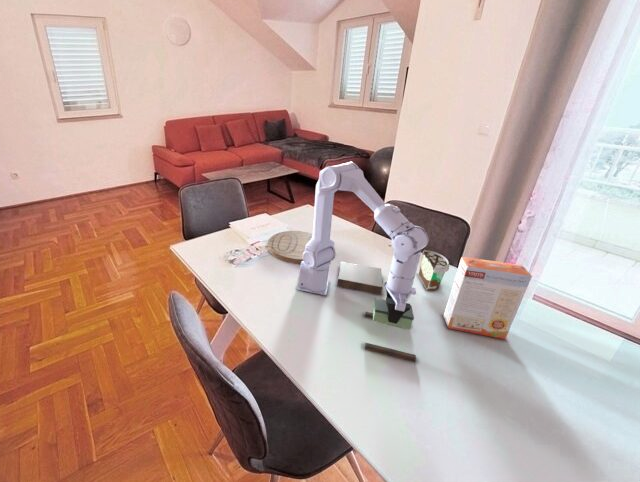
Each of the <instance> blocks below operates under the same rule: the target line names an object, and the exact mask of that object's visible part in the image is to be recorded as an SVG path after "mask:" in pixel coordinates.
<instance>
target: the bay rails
mask: <svg viewBox="0 0 640 482" xmlns="http://www.w3.org/2000/svg"><path fill="white" fill-rule="evenodd" d="M364 317H365V318H368V319H372V320H373V312H372V311H371V312H370V311H364ZM364 349H365V350H368V351H372V352H374V353H379V354H383V355H388V356H391V357H394V358H399V359H403V360H407V361H411V362H416V360H417V356H416V354H414V353H409V352H405V351H402V350H398V349H397V350H396V349H395V348H394V349H393V348H390V347H385V346H381V345H377V344H373V343H370V342H365V343H364Z"/></svg>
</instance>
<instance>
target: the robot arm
mask: <svg viewBox="0 0 640 482" xmlns="http://www.w3.org/2000/svg"><path fill="white" fill-rule="evenodd" d="M337 191H344V192H352V193H353V194H355V195H356V196H357V197H358V198H359V199H360V200H361V201H362V202H363V203H364V204H365V205H366V206H367V207H369V209H370V210H371V211H372V212H373V213H374V214H373V220H374V221H375V222H376V223H377V224H378V225H379V227H381V229H382V230H383V231H384V232H385V233H386V235H388V236H389V238H390V239H391V247H392V249H393V256H392V258H391V264H390V267H389V268H390V269H389V273H388V277H387V281H385V282H384V289H385V292H386V297H385V300H386V304H387V307H388V322H391V323H395V324H397V323H398V321H399V320H400V318H401V317H402V315H403V314H404V313H406V312H407V311H409V310H410V308H411V306H412V305H411V303H409V302H408V300H409V298H410V297H411V295H416V294H417V290H416V288H415V287H413V285H414V281H415V277H416V274H417V270H418V268H419V267H418V266H419V263H420V260H421V259H420V258H421V256H422V255H421V254H422V250H424V248H426V247H427V246H428V245H429V241H430V237H429V235H428V233H427V232H426V230H425V228H424V227H421V226H420V225H415V224H413V222H411V221H409V220H408V218H407V217H406V216H405V215H404V214H403V213H402V212H401V208H400V207H398V206H395V205H394V204H390V203H386V202H385V201H384V200H383V198H381V196H380V194H379V193H378V192H377V191H376V189H374V187H373V186H372V185H371V183H370V182H368V180H367V179H366V177H365V175H364V171H363V170H362V169H361V168H360V167H359V166H358V165H357V164H356V163H355V162H353V161H347V162H345V163H341V164H336V165H335V164H334V165H329V166H325V167H324V168H323V169H321V170H320V171H319V175H318V180H317V182H316V184H315V194H314V207H313V208H314V209H313V222H312V223H313V224H312V234H313V235H312V238H311V240H310V241H309V242H308V243H307V244H306V246H305V251H304V252H303V261H302V262H301V264H300V267H299V271H298V272H299V273H298V283H297V284H298V286H297V291H302V292H307V293H313V294H317V295H322V296H327V294H328V293H327V292H328V289H329V283H330V282H329V280H328V279H329V271H330V266H331V264H332V261H334V260H335V259H336V249H335V241H333V240H332V239H331V232H332V231H331V230H332V221H333V211H334V200H335V199H334V198H335V193H336V192H337ZM410 305H411V306H410Z"/></svg>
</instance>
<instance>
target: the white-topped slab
mask: <svg viewBox="0 0 640 482" xmlns="http://www.w3.org/2000/svg"><path fill="white" fill-rule="evenodd" d="M338 270H339V271H338V277H337V287H341V288H345V289H351V290H355V291H360V292H365V293H371V294H376V295H382V291H383V277H382V268H381V267H375V266H370V265H363V264H358V263H352V262H346V261H342V260H341V261H340V263H339V269H338Z"/></svg>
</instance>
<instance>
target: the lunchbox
mask: <svg viewBox="0 0 640 482" xmlns="http://www.w3.org/2000/svg"><path fill="white" fill-rule="evenodd" d="M410 306H411V308H410V310H409V311H407V312H406V313H404V314H403V315H402V317H401V318H400V320H399V321H398V323H397V324H395V323H391V322H388V307H387V304H386V299H383V298H378V297H374V303H373V307H372V313H373V319H372V321H373V322H376V323H380V324H385V325H387V326H388V325H389V326H392V327H397V328H402V329H406V330H411V329H412V324H413V321H414V319H415V317H414V310H413V305H411V304H410Z"/></svg>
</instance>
